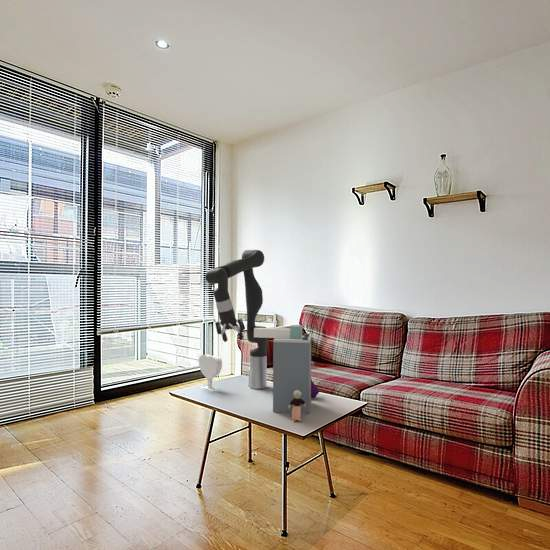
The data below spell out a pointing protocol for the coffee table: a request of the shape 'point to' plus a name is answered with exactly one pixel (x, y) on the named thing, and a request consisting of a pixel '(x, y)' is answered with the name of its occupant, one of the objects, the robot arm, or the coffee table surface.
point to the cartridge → (279, 332)
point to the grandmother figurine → (296, 406)
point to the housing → (291, 372)
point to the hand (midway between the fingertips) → (233, 340)
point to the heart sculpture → (210, 368)
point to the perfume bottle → (313, 387)
